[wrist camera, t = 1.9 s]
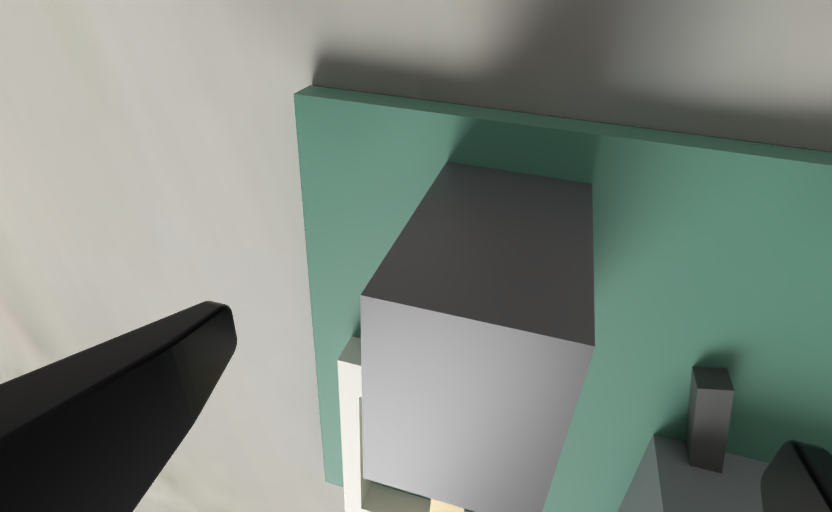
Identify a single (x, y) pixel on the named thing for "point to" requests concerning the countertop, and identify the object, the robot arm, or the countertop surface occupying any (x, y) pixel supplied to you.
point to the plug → (479, 340)
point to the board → (600, 291)
